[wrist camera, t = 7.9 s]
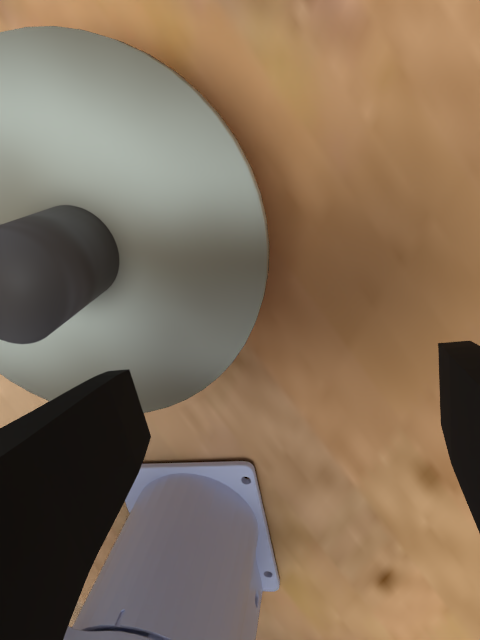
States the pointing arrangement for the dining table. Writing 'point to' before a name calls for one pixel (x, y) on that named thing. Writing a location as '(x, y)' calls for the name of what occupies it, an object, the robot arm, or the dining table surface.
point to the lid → (120, 221)
